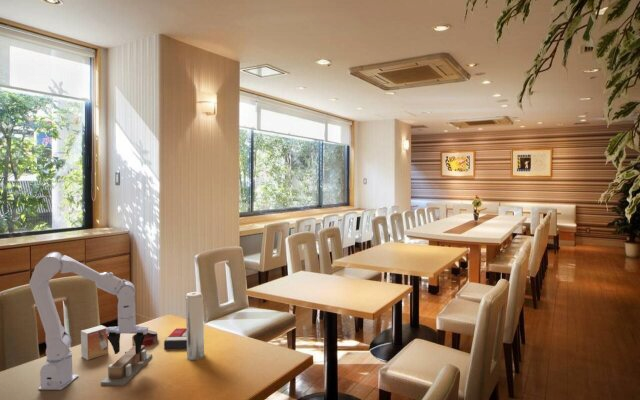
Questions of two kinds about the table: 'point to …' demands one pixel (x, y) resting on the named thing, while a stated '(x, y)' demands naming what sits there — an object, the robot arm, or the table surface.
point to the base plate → (127, 371)
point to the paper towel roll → (194, 326)
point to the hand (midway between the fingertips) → (127, 352)
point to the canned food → (148, 338)
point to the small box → (94, 342)
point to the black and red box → (176, 340)
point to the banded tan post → (125, 363)
